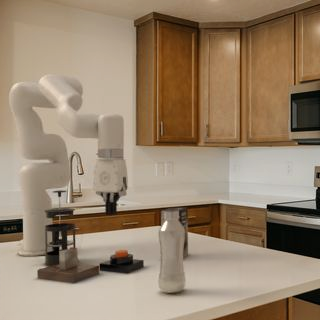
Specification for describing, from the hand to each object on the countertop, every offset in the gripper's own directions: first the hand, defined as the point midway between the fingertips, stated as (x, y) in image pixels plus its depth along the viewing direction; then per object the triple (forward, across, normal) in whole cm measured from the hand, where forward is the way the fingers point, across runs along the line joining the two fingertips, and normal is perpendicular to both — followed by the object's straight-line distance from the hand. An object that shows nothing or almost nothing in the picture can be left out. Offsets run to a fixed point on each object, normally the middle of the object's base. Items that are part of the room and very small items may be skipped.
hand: (111, 214), depth 139 cm
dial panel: (+16, -4, -14) cm, 21 cm away
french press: (+16, -18, -2) cm, 25 cm away
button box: (+16, +6, -2) cm, 17 cm away
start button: (+12, +5, -2) cm, 13 cm away
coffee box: (+16, +12, +17) cm, 27 cm away
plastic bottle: (+15, +32, -16) cm, 39 cm away
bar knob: (+13, -4, -14) cm, 20 cm away
